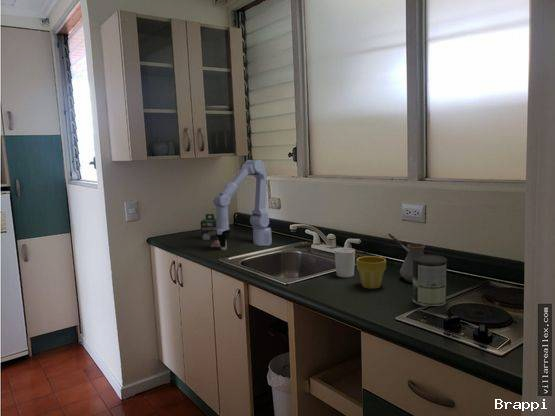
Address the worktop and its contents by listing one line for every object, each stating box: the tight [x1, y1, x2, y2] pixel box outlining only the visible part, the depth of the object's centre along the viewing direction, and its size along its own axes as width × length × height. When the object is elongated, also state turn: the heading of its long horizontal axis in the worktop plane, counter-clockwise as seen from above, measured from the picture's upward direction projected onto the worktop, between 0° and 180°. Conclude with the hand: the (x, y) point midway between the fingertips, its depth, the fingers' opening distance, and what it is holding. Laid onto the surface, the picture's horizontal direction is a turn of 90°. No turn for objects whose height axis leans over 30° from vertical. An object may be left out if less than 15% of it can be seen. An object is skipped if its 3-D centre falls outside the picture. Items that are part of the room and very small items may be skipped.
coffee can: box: [412, 254, 448, 307], centre depth 139 cm, size 10×10×14 cm
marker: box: [220, 243, 228, 251], centre depth 217 cm, size 3×3×7 cm
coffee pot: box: [385, 233, 426, 283], centre depth 166 cm, size 21×12×15 cm, turn 26°
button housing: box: [210, 242, 221, 248], centre depth 226 cm, size 6×6×2 cm
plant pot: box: [355, 255, 387, 290], centre depth 157 cm, size 10×10×10 cm
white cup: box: [334, 247, 356, 278], centre depth 171 cm, size 8×8×10 cm
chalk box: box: [199, 213, 219, 241], centre depth 245 cm, size 9×9×15 cm
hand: (223, 246), depth 217 cm, fingers closed on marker, 3 cm apart
